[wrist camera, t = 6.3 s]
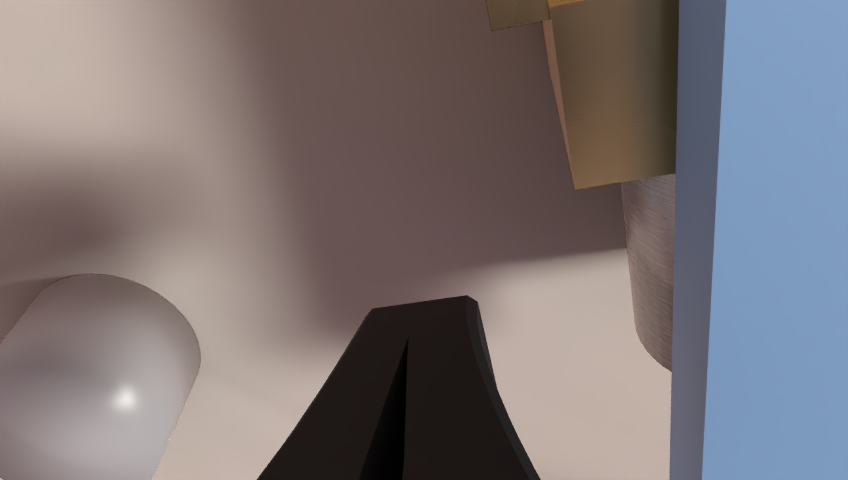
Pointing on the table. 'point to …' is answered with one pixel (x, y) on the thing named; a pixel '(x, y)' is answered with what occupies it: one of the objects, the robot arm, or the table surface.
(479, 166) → the table surface
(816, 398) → the lever
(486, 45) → the table surface
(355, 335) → the robot arm
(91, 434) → the pvc end cap
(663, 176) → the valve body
